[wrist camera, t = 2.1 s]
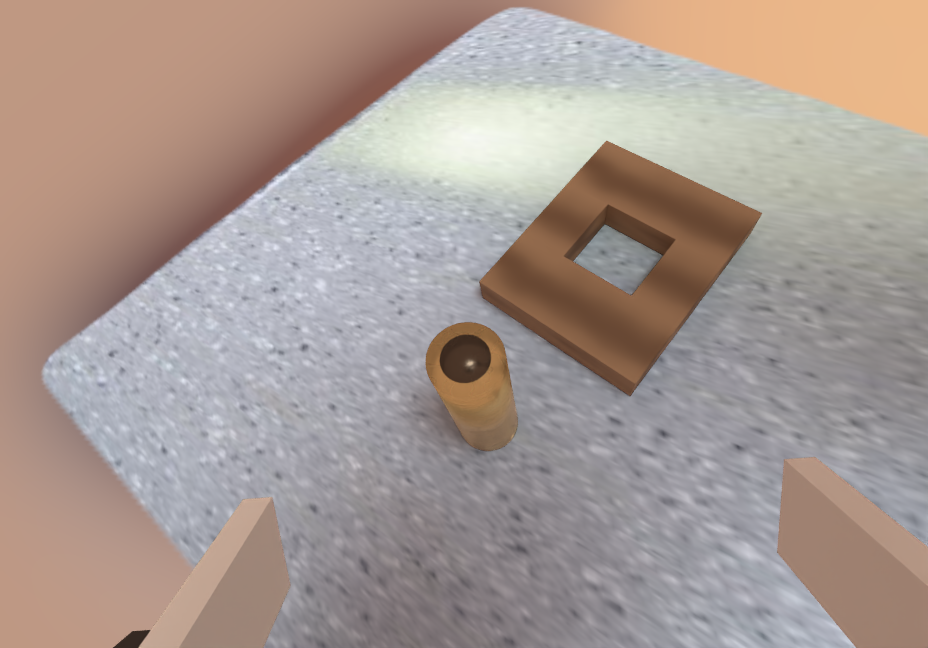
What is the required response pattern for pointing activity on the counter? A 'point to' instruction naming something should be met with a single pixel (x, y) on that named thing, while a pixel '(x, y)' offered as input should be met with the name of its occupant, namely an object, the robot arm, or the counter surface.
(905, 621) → the robot arm
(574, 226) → the walnut jig plate
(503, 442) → the brass bushing
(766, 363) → the counter surface
